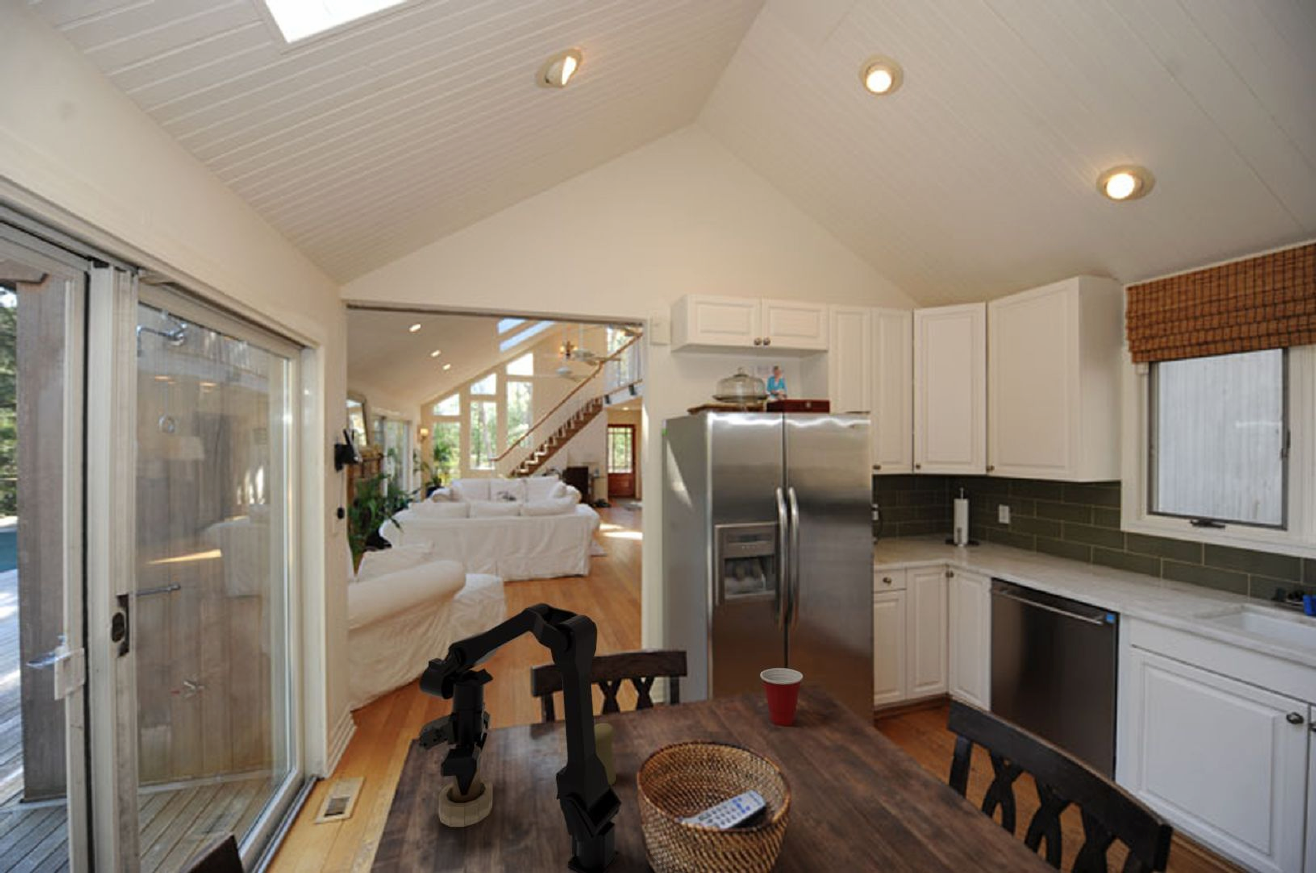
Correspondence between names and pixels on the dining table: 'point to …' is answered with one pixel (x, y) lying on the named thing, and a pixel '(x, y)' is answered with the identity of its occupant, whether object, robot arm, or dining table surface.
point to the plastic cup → (781, 694)
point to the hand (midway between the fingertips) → (466, 786)
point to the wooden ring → (465, 806)
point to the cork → (605, 748)
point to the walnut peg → (473, 791)
